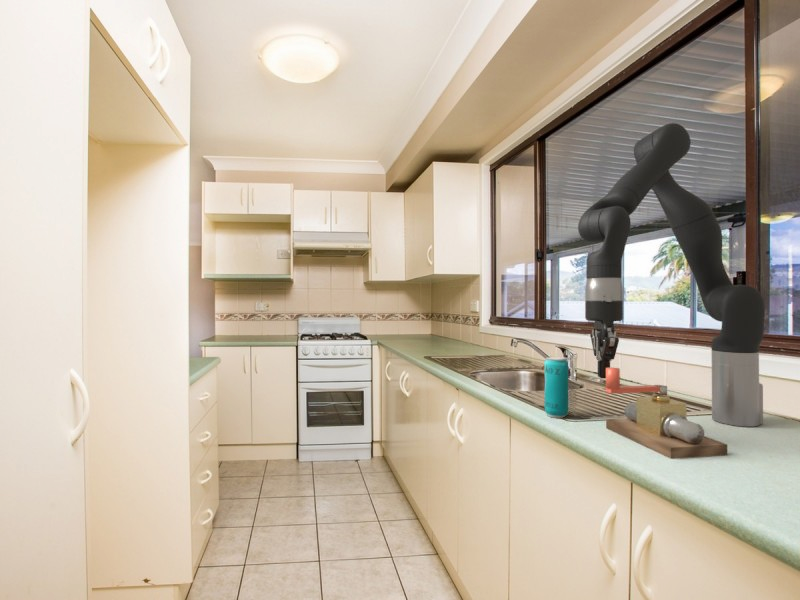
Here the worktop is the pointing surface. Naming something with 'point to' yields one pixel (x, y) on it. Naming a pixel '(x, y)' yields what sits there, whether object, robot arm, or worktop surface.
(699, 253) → the robot arm
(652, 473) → the worktop surface
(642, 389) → the valve lever
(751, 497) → the worktop surface
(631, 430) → the valve board
